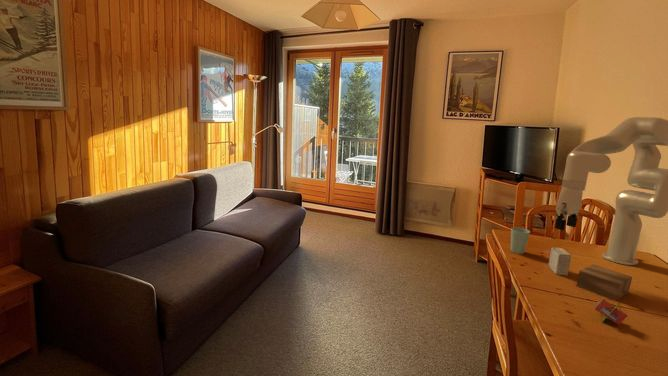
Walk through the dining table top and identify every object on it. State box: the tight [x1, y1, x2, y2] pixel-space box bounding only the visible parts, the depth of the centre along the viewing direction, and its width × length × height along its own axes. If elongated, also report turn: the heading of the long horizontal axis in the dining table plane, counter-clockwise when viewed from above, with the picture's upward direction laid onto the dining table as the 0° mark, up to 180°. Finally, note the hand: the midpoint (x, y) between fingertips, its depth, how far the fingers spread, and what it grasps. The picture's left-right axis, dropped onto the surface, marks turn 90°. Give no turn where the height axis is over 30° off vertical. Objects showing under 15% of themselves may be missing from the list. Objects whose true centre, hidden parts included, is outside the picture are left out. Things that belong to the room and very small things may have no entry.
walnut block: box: [576, 264, 633, 302], centre depth 126 cm, size 12×12×6 cm
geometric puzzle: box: [594, 298, 628, 326], centre depth 105 cm, size 7×7×8 cm
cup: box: [510, 227, 531, 255], centre depth 160 cm, size 8×8×10 cm
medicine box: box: [547, 247, 572, 277], centre depth 140 cm, size 8×4×9 cm, turn 168°
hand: (565, 227), depth 137 cm, fingers open, 9 cm apart
